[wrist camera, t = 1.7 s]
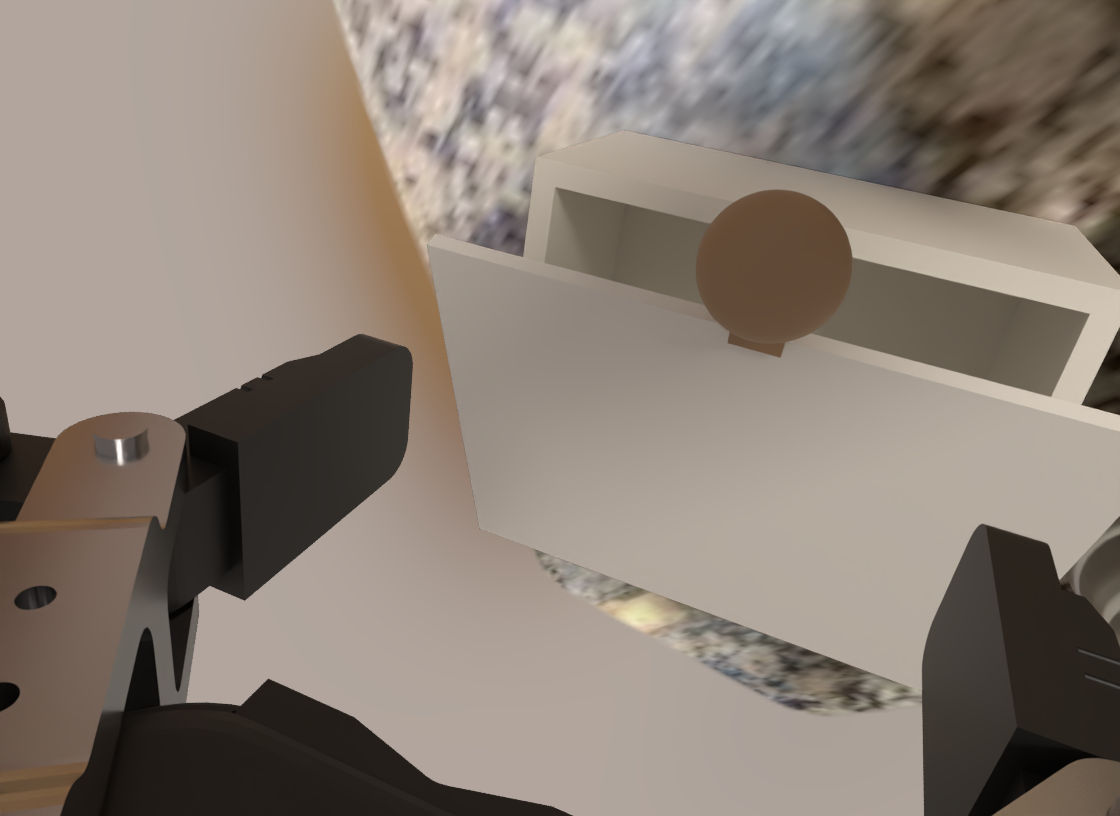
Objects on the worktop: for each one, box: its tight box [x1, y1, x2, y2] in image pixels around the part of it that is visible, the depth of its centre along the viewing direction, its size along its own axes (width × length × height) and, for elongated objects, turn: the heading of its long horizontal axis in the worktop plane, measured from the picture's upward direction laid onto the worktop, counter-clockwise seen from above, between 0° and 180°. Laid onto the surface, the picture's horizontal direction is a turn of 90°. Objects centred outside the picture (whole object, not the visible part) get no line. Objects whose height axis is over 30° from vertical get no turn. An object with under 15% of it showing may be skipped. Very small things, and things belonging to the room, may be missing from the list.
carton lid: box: [427, 190, 1120, 691], centre depth 29 cm, size 23×22×4 cm
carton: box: [523, 130, 1120, 405], centre depth 40 cm, size 18×22×12 cm
